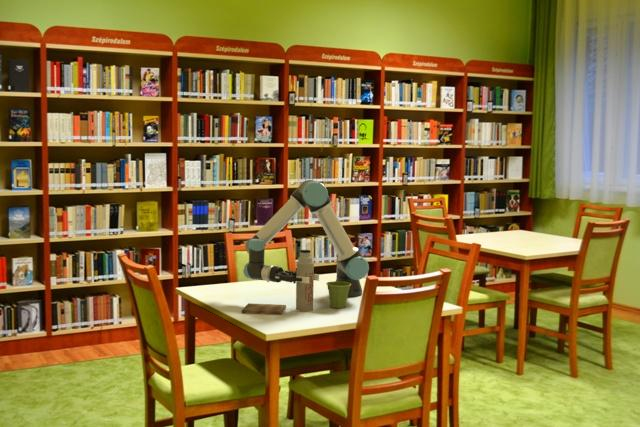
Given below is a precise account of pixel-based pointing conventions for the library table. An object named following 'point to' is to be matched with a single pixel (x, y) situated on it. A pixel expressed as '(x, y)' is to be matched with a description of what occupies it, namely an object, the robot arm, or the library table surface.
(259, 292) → the library table surface
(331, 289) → the plant pot
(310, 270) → the thermos bottle
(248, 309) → the walnut board
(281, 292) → the library table surface
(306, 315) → the library table surface
